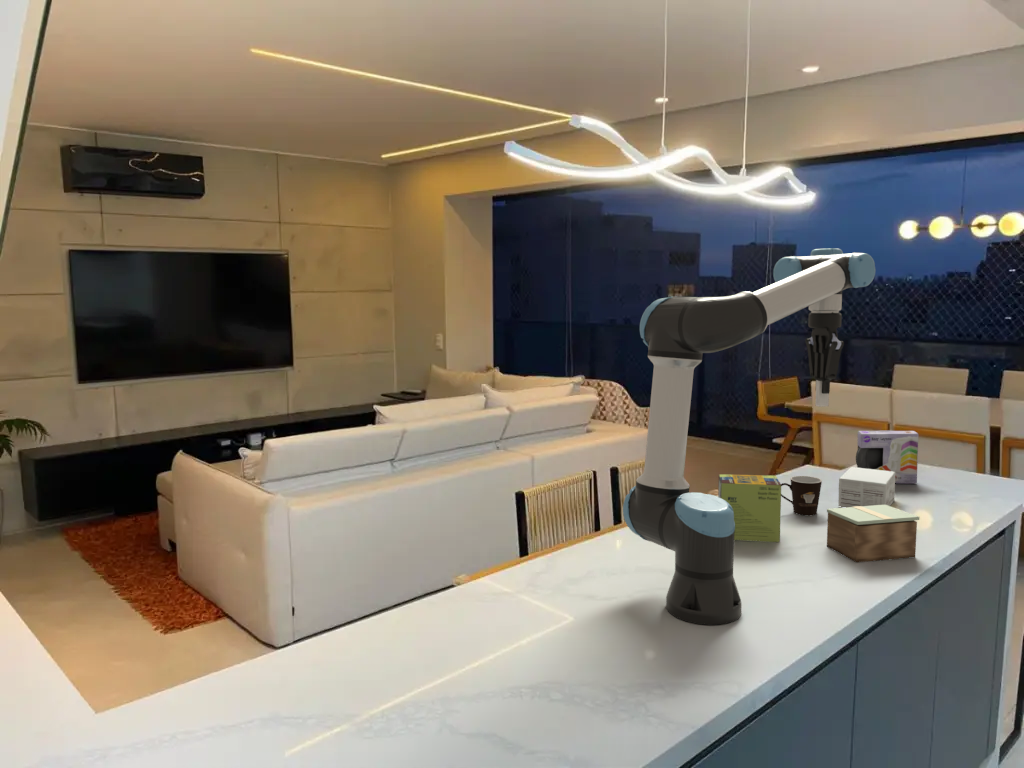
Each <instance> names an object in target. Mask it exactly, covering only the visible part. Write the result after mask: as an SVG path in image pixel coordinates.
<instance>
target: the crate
mask: <svg viewBox="0 0 1024 768" xmlns="http://www.w3.org/2000/svg"><path fill="white" fill-rule="evenodd" d="M917 526H918V521H917V520H913V521H900V522H888V523H875V524H863V525H857V524H854V523H852V522H850V521H847V520H845V519H842V518H840V517H838V516H835V515H833V514H831V513H828V512H827V529H826V530H827V532H826V547H827V548H828V549H831V550H832V549H833V551H834V550H835V551H834V552H836V553H838V554H840V555H841V554H842V555H841V556H843V557H845V558H847V559H848V560H851V561H852V562H854V563H855V564H857V563H867V562H868V563H869V562H879V561H880V560H881V561H889V559H892V560H900V559H899V558H903V559H910V558H909V557H914V558H916V550H917V549H916V548H917V531H918V530H917Z"/></svg>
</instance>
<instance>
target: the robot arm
mask: <svg viewBox="0 0 1024 768" xmlns="http://www.w3.org/2000/svg"><path fill="white" fill-rule="evenodd" d="M875 265H876V263H875V260H874V258H873V257H872V255H870V254H869V253H865V252H855V251H854V252H852V253H844V252H843V250H842V249H841V248H834V247H833V248H815V249H812V250H811V252H810V255H807V256H806V255H804V256H796V255H793V256H792V255H790V256H784V257H782V258H780V259H778V261H776V263H775V264H774V267H773V271H772V272H773V274H772V275H773V280H774V283H771V284H770V285H767V286H764V287H762V288H760V289H757V290H755V291H753V292H752V291H746V290H745V291H740V292H738V293H736V294H731V295H726V296H699V297H698V296H669V297H663V298H658V299H656V300H654V301H653V302H651V304H650V305H648V306H647V307H646V308H645V310H644V311H643V313H642V316H641V318H640V322H639V335H640V338H641V339H642V342H643V343H644V344H645V346H647V348H648V349H647V350H648V352H647V358H648V359H649V361H650V362H651V363H652V364H653V372H652V382H651V392H650V393H651V394H650V403H649V415H648V426H647V435H646V446H645V447H646V448H645V459H644V468H643V472H642V474H641V475H639V476H638V477H637V478H636V480H635V485H634V486H633V487H631V488H630V490H629V493H628V494H626V495H625V497H624V500H623V505H622V512H623V514H622V515H623V518H624V522H625V524H626V526H627V528H629V530H630V531H631V532H632V533H633V534H635V535H637V536H638V537H640V538H641V539H643V540H644V541H648V542H650V543H653V544H656V545H658V546H660V547H664V548H666V549H668V550H670V551H673V552H674V563H675V565H674V567H675V568H674V574H673V576H672V579H671V582H670V585H669V588H668V591H667V593H666V598H665V599H666V600H665V604H666V605H665V606H666V607H665V608H666V610H667V612H668V613H669V614H670V615H672V616H674V617H676V618H677V619H680V620H682V621H685V622H688V623H691V624H698V625H706V626H707V625H709V626H711V625H714V626H715V625H725V624H729V623H732V622H734V621H736V620H738V619H739V618H740V617H741V616H742V599H741V596H740V593H739V591H738V587H737V583H736V581H735V580H736V579H735V578H734V556H735V555H734V554H735V553H734V552H735V540H734V533H735V522H734V512H733V509H732V507H731V505H730V504H729V503H728V502H727V501H725V500H723V499H722V498H719V497H718V495H713V494H710V493H707V494H706V493H704V492H693V491H691V492H690V487H691V485H690V484H689V482H688V481H687V480H686V478H685V477H684V475H685V465H686V463H685V462H686V454H687V443H688V434H689V433H688V431H689V424H690V423H689V422H690V415H691V414H690V411H691V403H692V401H691V400H692V394H693V393H692V391H693V381H694V380H693V379H694V370H695V368H696V367H697V366H699V365H700V364H701V363H702V361H703V354H711V353H716V352H719V351H723V350H726V349H729V348H732V347H735V346H738V345H739V344H741V343H742V344H743V343H744V342H746V341H749V340H751V339H753V338H755V337H758V336H759V335H761V334H763V333H764V332H765V331H766V329H767V327H768V325H772V324H774V323H775V322H777V321H780V320H782V319H784V318H786V317H788V316H790V315H793V314H795V313H797V312H799V311H801V310H803V309H805V308H807V307H808V310H809V311H810V312H809V313H808V323H807V324H808V325H807V326H808V327H809V328H810V329H812V331H811V337H809V338H805V345H806V348H807V356H808V357H807V358H808V365H809V374H810V375H809V376H810V377H813V379H814V380H815V403H814V404H815V406H816V407H818V408H819V407H829V405H830V403H829V402H830V391H831V388H830V386H831V385H830V384H831V381H832V380H835V379H836V378H837V375H838V369H839V363H840V358H841V353H842V349H843V348H844V346H845V342H844V341H843V340H839V339H838V330H837V329H839V328H841V327H842V313H841V312H840V311H841V310H842V305H843V304H842V302H843V291H844V290H846V289H851V288H855V289H857V288H864V287H868V286H869V285H870V284H871V283H872V282H873V280H874V278H875V276H876V266H875Z"/></svg>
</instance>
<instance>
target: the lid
mask: <svg viewBox="0 0 1024 768" xmlns="http://www.w3.org/2000/svg"><path fill="white" fill-rule="evenodd" d="M826 513H827V514H828V513H831V514H833V515H835V516H838V517H840V518H842V519H845V520H847V521H850V522H852V523H854V524H857V525H863V524H875V523H888V522H900V521H913V520H914V521H920V516H918V515H915V514H913V513H910V512H907V511H904V510H902V509H898V508H896V507H894V506H892V505H890V506H888V505H873V506H854V507H846V508H842V507H836V508H835V507H834V508H826Z"/></svg>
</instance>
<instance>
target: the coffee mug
mask: <svg viewBox="0 0 1024 768" xmlns="http://www.w3.org/2000/svg"><path fill="white" fill-rule="evenodd" d="M822 483H823V480H822V479H821V478H819V477H815V476H811V475H810V476H809V475H794V476H791V477H790V484H789V483H786V482H783V483H780V484H781V487H783V486H787V487H789V489H790V491H791V498H792V500H791V499H789V498H788V497H786V496H785V495H784V494H782V493H781V498H783V499H785V500H786V501H787V502H789V503H791V505H792V508H793V509H792V511H793V513H794V512H795V513H794V514H796V513H797V514H796V515H799V514H800V515H799V516H805V515H808V516H809V517H811V516H810V515H812V516H816V515H817V513H818V508H819V501H820V494H821V489H822ZM808 516H807V517H808Z"/></svg>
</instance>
